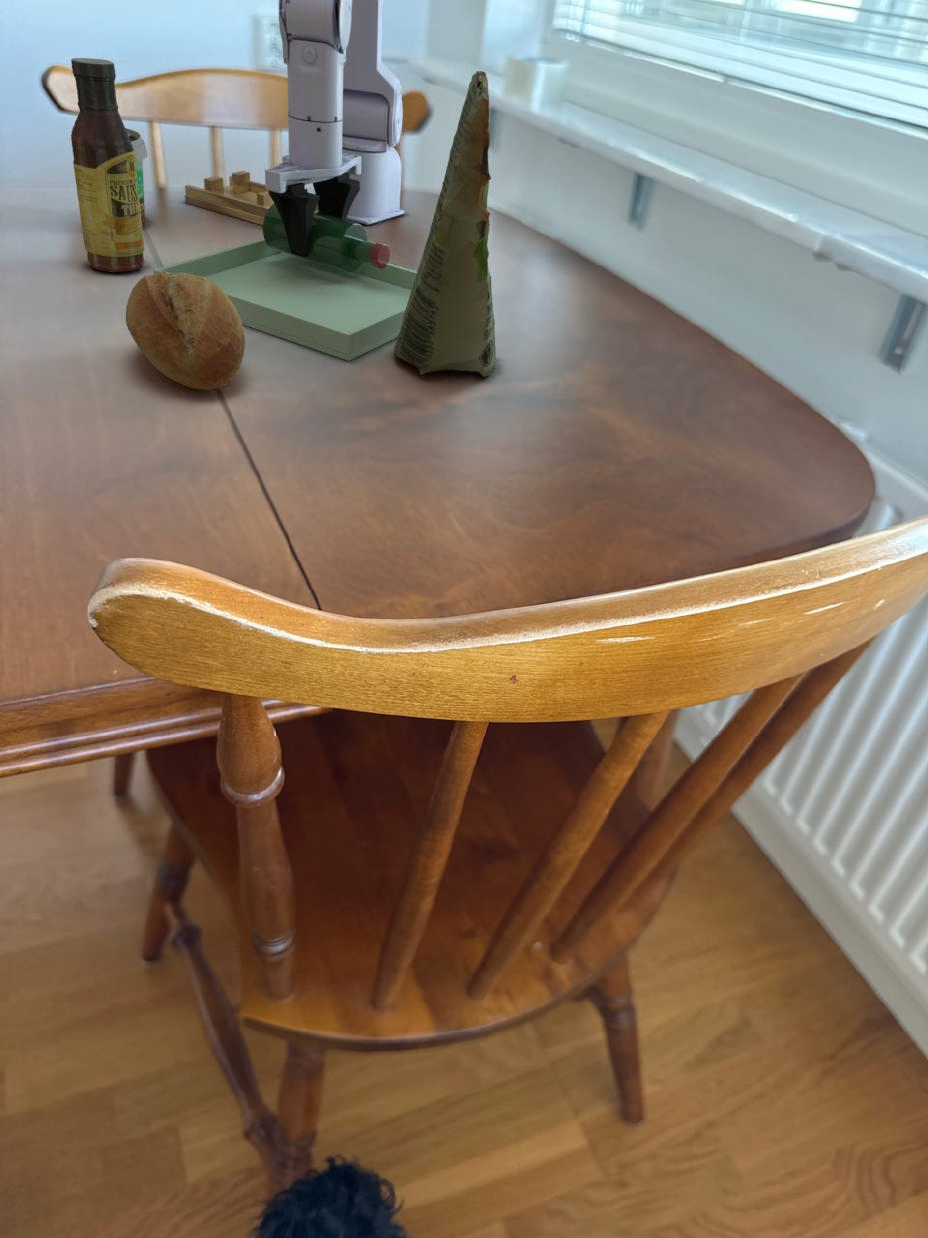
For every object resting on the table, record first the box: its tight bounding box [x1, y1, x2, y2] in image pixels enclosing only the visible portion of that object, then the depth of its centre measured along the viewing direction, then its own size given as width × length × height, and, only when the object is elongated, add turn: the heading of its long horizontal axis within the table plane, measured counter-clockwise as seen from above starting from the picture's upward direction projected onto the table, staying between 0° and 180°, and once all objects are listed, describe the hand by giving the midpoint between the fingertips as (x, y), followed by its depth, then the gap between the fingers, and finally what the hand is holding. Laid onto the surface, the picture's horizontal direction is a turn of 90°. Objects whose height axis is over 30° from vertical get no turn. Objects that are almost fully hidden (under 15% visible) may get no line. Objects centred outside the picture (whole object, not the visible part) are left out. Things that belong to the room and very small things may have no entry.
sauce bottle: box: [70, 57, 145, 273], centre depth 95 cm, size 7×6×20 cm
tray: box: [152, 237, 418, 362], centre depth 97 cm, size 21×25×3 cm
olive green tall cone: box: [393, 70, 497, 378], centre depth 81 cm, size 11×12×25 cm
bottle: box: [262, 204, 391, 272], centre depth 101 cm, size 5×15×5 cm, turn 60°
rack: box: [184, 170, 319, 226], centre depth 123 cm, size 10×16×4 cm, turn 60°
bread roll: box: [125, 271, 246, 391], centre depth 79 cm, size 10×15×8 cm, turn 29°
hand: (315, 249), depth 103 cm, fingers closed on bottle, 5 cm apart
